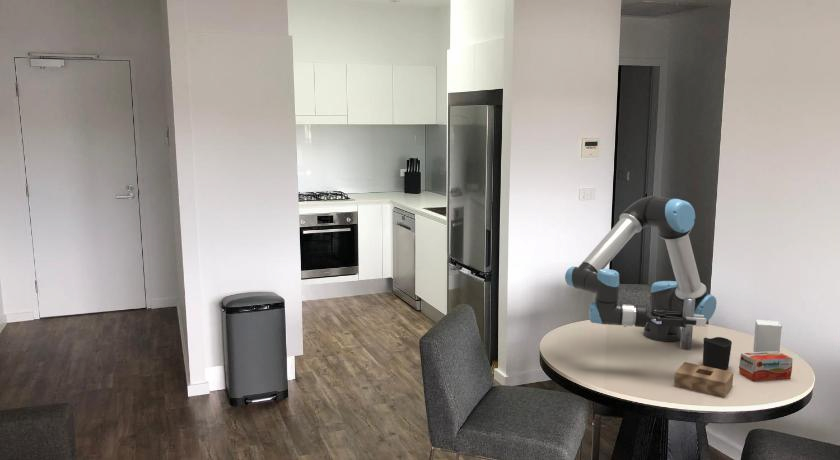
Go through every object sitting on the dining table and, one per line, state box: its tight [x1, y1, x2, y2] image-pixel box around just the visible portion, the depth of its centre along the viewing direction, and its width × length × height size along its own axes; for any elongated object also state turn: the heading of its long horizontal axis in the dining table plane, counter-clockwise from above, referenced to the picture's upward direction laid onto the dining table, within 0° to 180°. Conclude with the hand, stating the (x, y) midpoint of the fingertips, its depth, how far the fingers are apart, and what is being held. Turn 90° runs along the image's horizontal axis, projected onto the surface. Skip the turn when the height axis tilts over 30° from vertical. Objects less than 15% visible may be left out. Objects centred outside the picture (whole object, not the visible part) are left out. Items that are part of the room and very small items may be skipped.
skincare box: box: [752, 319, 783, 353], centre depth 255 cm, size 8×7×16 cm
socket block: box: [673, 361, 734, 398], centre depth 232 cm, size 16×12×5 cm
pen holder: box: [702, 336, 733, 371], centre depth 250 cm, size 9×9×10 cm
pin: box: [679, 297, 695, 351], centre depth 239 cm, size 4×4×18 cm
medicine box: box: [738, 351, 793, 382], centre depth 242 cm, size 15×8×8 cm, turn 101°
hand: (704, 320), depth 237 cm, fingers closed on pin, 3 cm apart
